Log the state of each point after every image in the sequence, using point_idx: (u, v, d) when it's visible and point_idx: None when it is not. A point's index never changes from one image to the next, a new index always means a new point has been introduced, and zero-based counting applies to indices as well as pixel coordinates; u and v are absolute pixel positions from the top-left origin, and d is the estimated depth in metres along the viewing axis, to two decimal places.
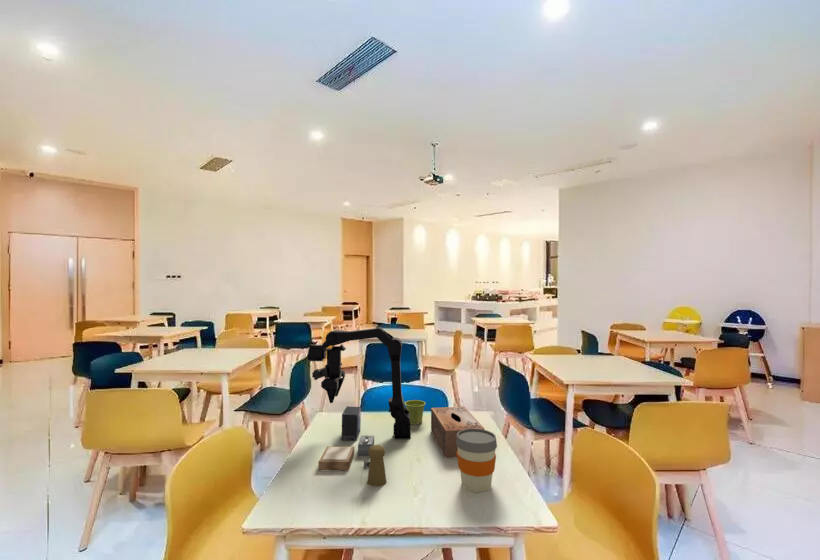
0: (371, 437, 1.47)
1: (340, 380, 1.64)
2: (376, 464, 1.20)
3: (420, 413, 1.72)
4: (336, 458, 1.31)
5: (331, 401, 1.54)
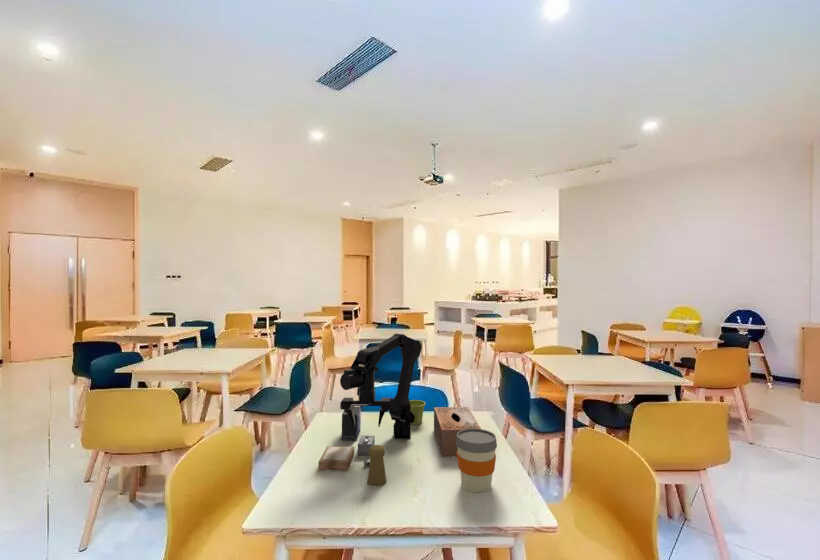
0: (372, 437, 1.47)
1: (380, 410, 1.42)
2: (376, 464, 1.20)
3: (420, 413, 1.72)
4: (336, 458, 1.31)
5: None
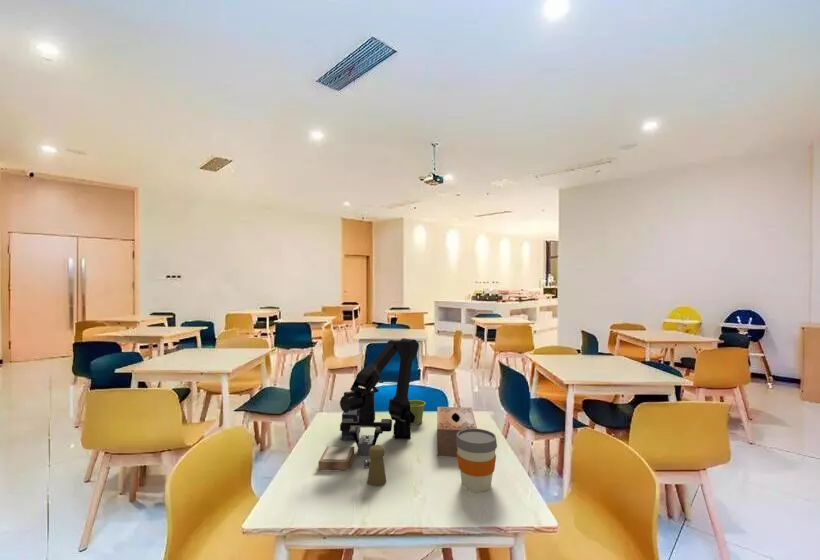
0: (372, 436, 1.47)
1: (374, 432, 1.42)
2: (376, 464, 1.20)
3: (420, 413, 1.72)
4: (336, 458, 1.31)
5: None
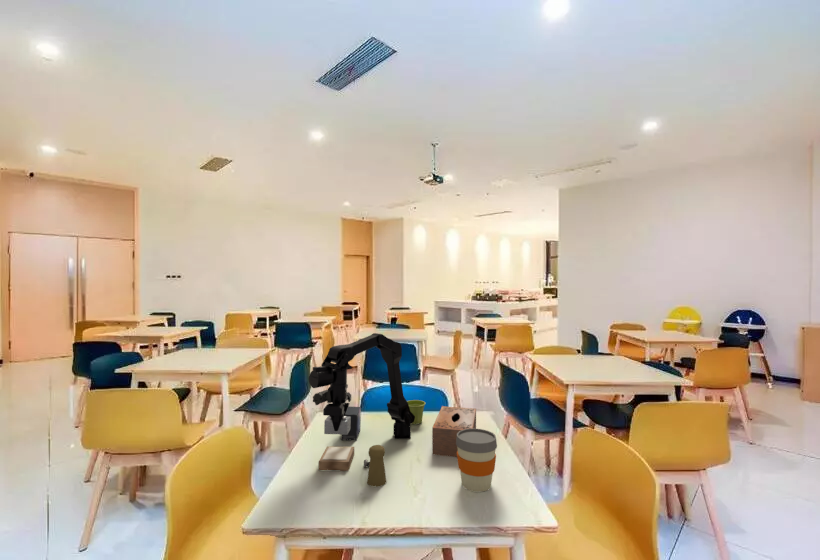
0: None
1: (344, 406, 1.39)
2: (376, 464, 1.20)
3: (420, 413, 1.72)
4: (336, 458, 1.31)
5: (336, 429, 1.32)
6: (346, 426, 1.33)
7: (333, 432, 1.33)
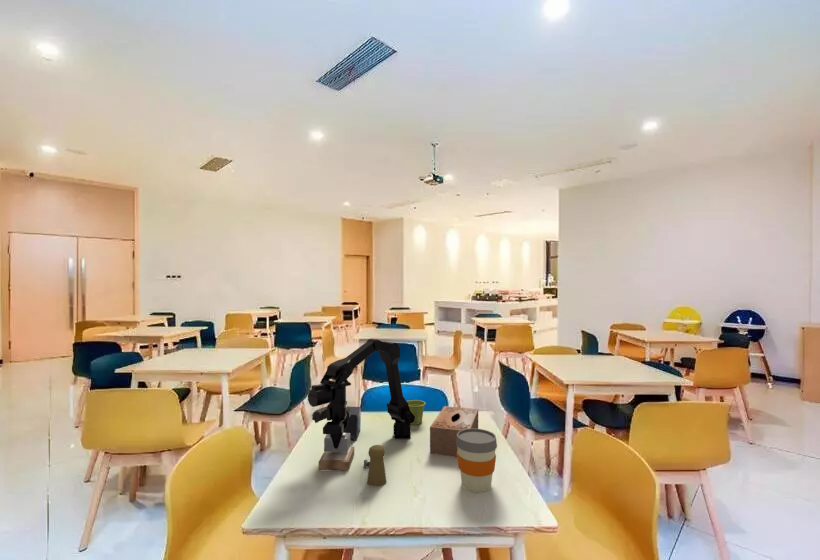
0: None
1: (344, 422, 1.38)
2: (376, 464, 1.20)
3: (420, 413, 1.72)
4: (336, 458, 1.31)
5: (336, 446, 1.32)
6: (346, 443, 1.33)
7: (333, 449, 1.33)
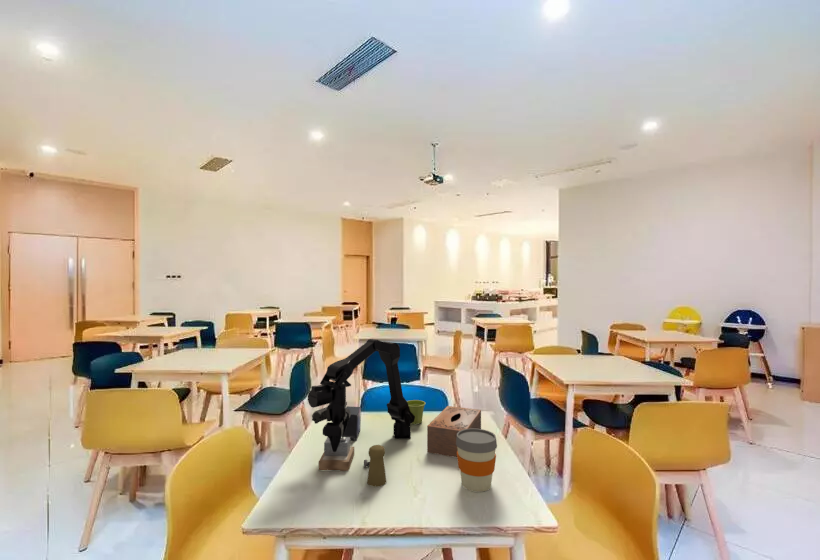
0: None
1: (345, 421, 1.40)
2: (376, 464, 1.20)
3: (420, 413, 1.72)
4: (336, 458, 1.31)
5: (334, 449, 1.30)
6: (346, 448, 1.33)
7: (333, 454, 1.33)
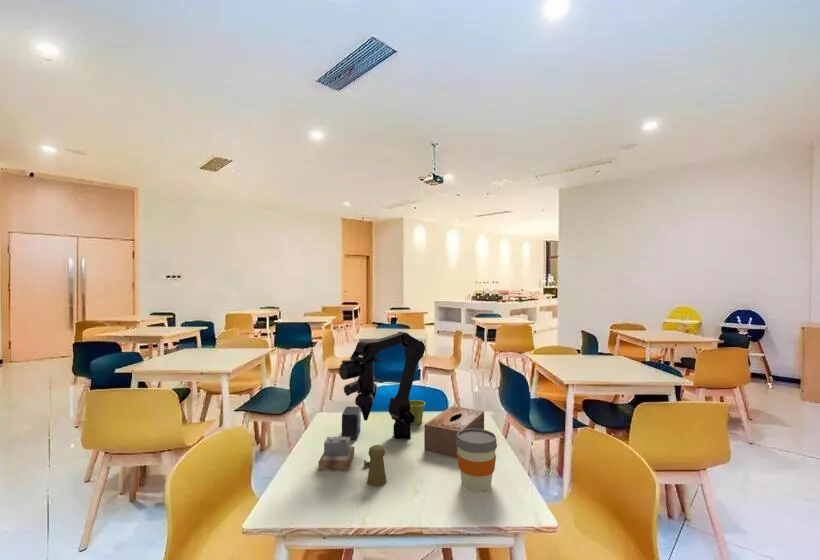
0: (331, 437, 1.37)
1: (372, 394, 1.52)
2: (376, 464, 1.20)
3: (420, 413, 1.72)
4: (336, 458, 1.31)
5: (366, 418, 1.42)
6: (346, 448, 1.33)
7: (333, 454, 1.33)
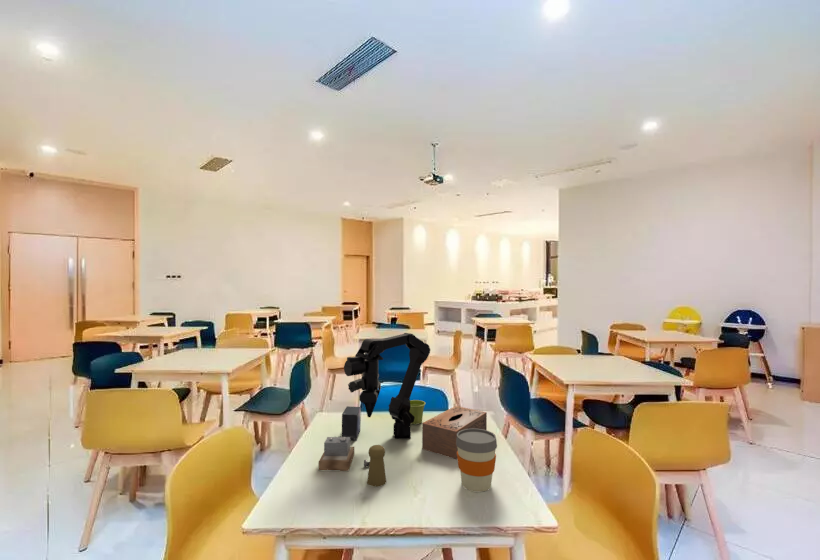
0: (331, 437, 1.37)
1: (376, 392, 1.54)
2: (376, 464, 1.20)
3: (420, 413, 1.72)
4: (336, 458, 1.31)
5: (369, 415, 1.44)
6: (346, 448, 1.33)
7: (333, 454, 1.33)
